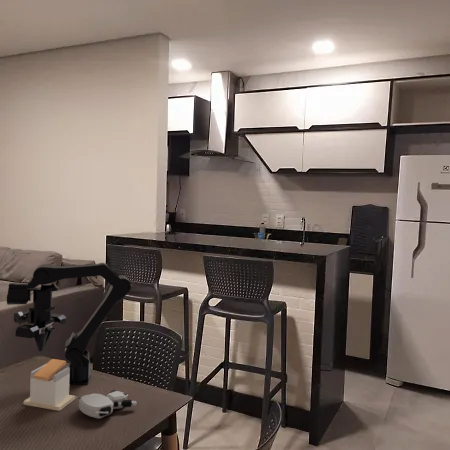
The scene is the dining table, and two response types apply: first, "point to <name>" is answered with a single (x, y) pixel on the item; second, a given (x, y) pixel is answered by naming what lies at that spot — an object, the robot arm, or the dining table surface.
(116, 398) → the robot toy
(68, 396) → the box
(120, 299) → the robot arm
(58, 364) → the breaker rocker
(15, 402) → the dining table surface
